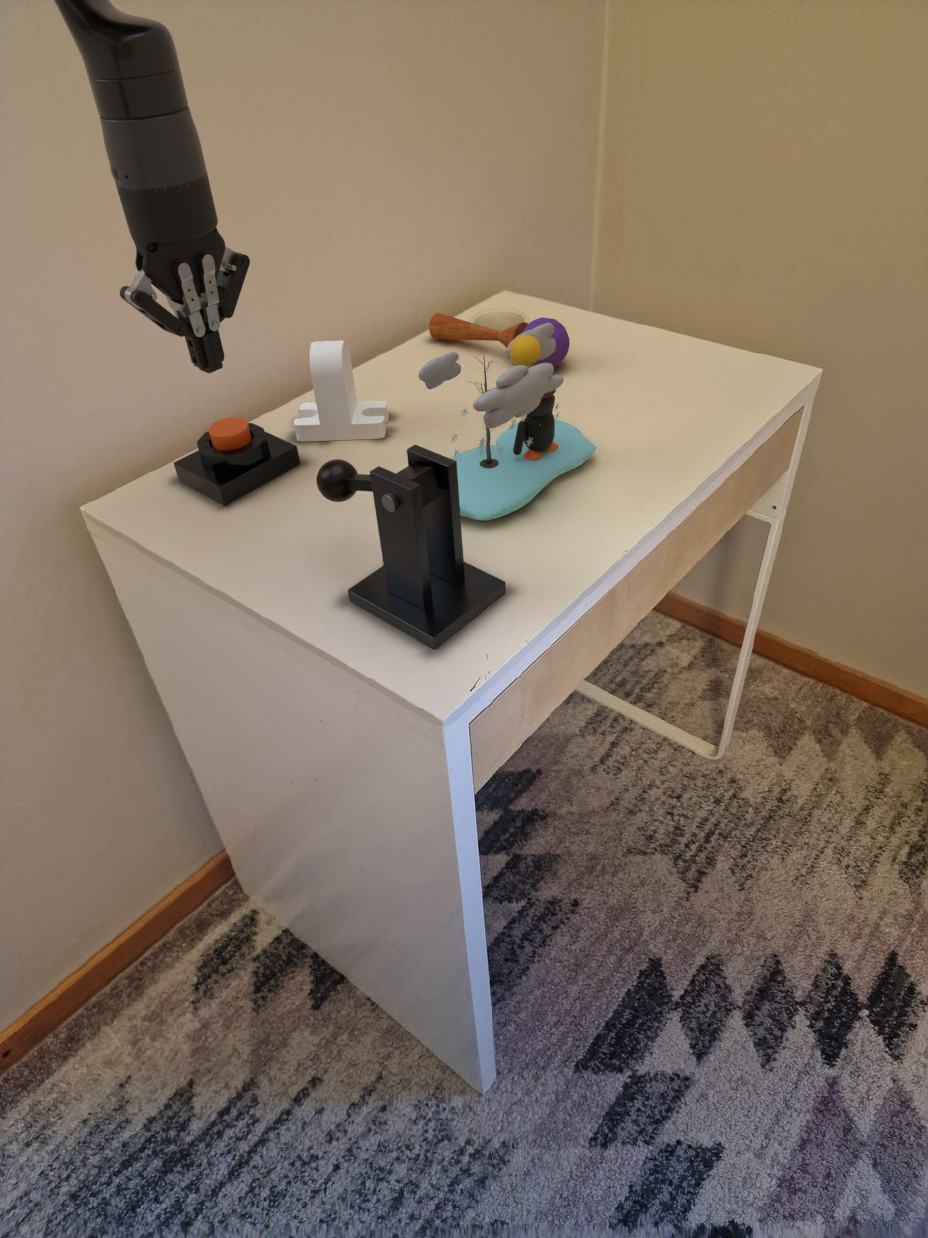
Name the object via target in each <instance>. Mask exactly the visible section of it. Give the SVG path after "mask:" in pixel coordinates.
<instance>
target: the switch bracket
mask: <svg viewBox="0 0 928 1238" xmlns="http://www.w3.org/2000/svg"><path fill="white" fill-rule="evenodd" d="M406 455H407V456H406V457H407V466H424V467H433V470H434V473H435V476H436V479H437V482H438V485H439V488H440V491H441V496H440V497H438V498H437V499H435V500H434V501H432V502H431V503H429V504H428V505H426V506H425V507H423V505H422V495H421V486H420V484H419V483H416V482H414V481H412V480H409V479H407V478H405V477H403V476H400V475H398V474H396V473H397V472H396V473H395V472H393V471H391V470H389V469H386V468H384V467H383V466H380V465H378V466H376V467H375V468H373V469H371V470H370V471H369V475H370V477H371V484H372V490H373V492H372V495H373V496H372V497H373V503H374V511H375V518H376V523H377V530H378V536H379V544H380V551H381V558H382V563H383V564H382V566H379V568H377V569H376V570H374V571H373V572H372V573H370V574H369V575H367V576H366V577H364V578H363V579H361V580H359V581H358V582H357V583H355V584H354V585H353V586H351V587H350V588H348V589H347V595H348V600H349V601H350V602H351V603H353V604H355V605H357V606H358V607H360V608H362V609H364V610H365V611H367V612H369V613H370V614H372V615H373V616H376V617H377V618H379V619H381V620H382V621H384V622H386V623H388V624H390V625H391V626H393V627H394V628H397V629H398V630H399V631H402V632H403V633H405V634H407V635H409V636H410V637H412V638H414V639H416V640H417V641H419V642H421V643H423V644H424V645H426V646H428V647H430V648H432V649H433V650H436V649H437V648H438V647H440V646H441V645H442V644H444V643H445V642H446V641H447V640H448V639H449V638H452V636H453V635H454V634H456V633H457V632H459V631H460V630H461V629H462V628H464V627H465V626H466V625H468V624H469V623H470V622H471V621H472V620H473V619H475V618H476V617H477V616H479V615H480V614H481V613H482V612H484V611H485V610H486V609H487V608H488V607H490V606H491V605H493V604H494V603H495V602H496V601H498V600H499V599H500V598H501V597H502V596H503V595H505V594H506V592H507V584H506V583H507V582H506V581H505V580H503V579H501V578H498V577H497V576H495V575H492V574H490V573H488V572H486V571H485V570H482V569H480V568H478V567H476V566H474V565H472V564H470V563H468V562H465V561H464V560H465V559H464V549H463V548H464V547H463V546H464V545H463V531H462V519H461V518H462V516H460V503H459V488H458V474H457V462H456V461H455V460H452V458H449V457H447V456H445V455H443V454H440V453H438V452H435V451H432V450H430V449H428V448H425V447H423V446H420V445H418V444H413V445H412V446H410V447H408V448H407V449H406Z"/></svg>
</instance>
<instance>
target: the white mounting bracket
mask: <svg viewBox="0 0 928 1238" xmlns="http://www.w3.org/2000/svg"><path fill="white" fill-rule="evenodd" d="M350 351H351V350H350V348H349V344H348V341H347V340H346V339H343V340H342V339H341V340H319V341H312V342H311V343H310V347H309V370H310V371H309V372H310V378H311V384H312V389H313V393H314V400H315V402H304V403H301V404H300V405H299V407H298V415H299V417H297V418H294V421H293V428H294V432H295V437H296V440H297V442H327V441H353V440H354V441H357V440H381V439H383V438H385V437H386V434H387V426H386V424H388V423H389V420H390V417H389V408H388V402H387V401H385V400H366V401H363V400H362V401H358V398H357V397H358V396H357V392H356V391H357V390H356V385H355V377H354V372H353V366H352V365H353V364H352V358H351V352H350Z"/></svg>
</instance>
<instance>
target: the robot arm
mask: <svg viewBox="0 0 928 1238" xmlns="http://www.w3.org/2000/svg"><path fill="white" fill-rule="evenodd" d="M53 2H54V3H55V6H56V7H57V10H58V12H59V13H60V15H61V17H62V19H63V21H64V24H65V25H66V27H67V29H68V32H69V33H70V36H71V38H72V39H73V42H74V44H75V46H76V47H77V50H78V51H79V54H80V56H81V60H82V61H83V65H84V69H85V72H86V75H87V79H88V83H89V86H90V90H91V92H92V97H93V100H94V103H95V107H96V110H97V113H98V115H99V121H100V125H101V131H102V138H103V143H104V148H105V152H106V156H107V160H108V163H109V167H110V168H109V169H110V173H111V176H112V178H113V180H114V183H115V187H116V191H117V193H118V198H119V200H120V204H121V207H122V211H123V214H124V218H125V221H126V225H127V228H128V231H129V234H130V236H131V239H132V241H133V243H134V245H135V250H136V251H135V260H134V261H135V268H136V270H137V273H136V275H135V276H134V277H133V278H134V279H133V280H132V282H131V283H130V285H123V286H122V287H121V288H120V290H119V296H120V298H121V299H122V301H123V300H124V301H125V302H126V303H127V304H128V305H130V306H131V307H133V308H134V309H135V310H136V311H138V313H140V314H142V315H143V316H144V317H145V318H147V319H148V320H150V321H151V322H152V323H154V324H155V325H156V326H158V327H159V328H160V329H162V330H163V331H165V332H167V333H170V334H172V335H175V336H178V337H180V338H182V337H184V339H185V342H186V346H187V350H188V354H189V358H190V361H191V363H192V365H193V366H194V367H196V368H198V369H199V370H200V371H202V372H203V373H207V374H212V373H214V372H217V371H219V370H222V369H223V367H224V365H223V362H224V361H225V351H224V348H223V344H222V339H221V336H220V335H221V334H220V331H219V329H220V328H221V323H222V322H223V321H224V320H225V319H231V318H233V316H234V314H235V311H236V307H237V304H238V301H239V299H240V295H241V292H242V289H243V285H244V284H245V283H244V282H245V280H246V276H247V274H248V270H249V267H250V264H251V260H250V256H248V255H247V254H244V253H242V252H239V251H235V250H232V249H231V248H229V247H227V246H226V241H225V239H224V238H223V236H222V235H221V233H220V232H219V230H218V228H217V226H218V224H219V219H218V214H217V209H216V205H215V201H214V197H213V192H212V188H211V184H210V179H209V174H208V171H207V170H208V169H207V165H206V161H205V157H204V153H203V148H202V143H201V140H200V136H199V133H198V130H197V127H196V123H195V122H194V118H193V116H192V112H191V108H190V106H189V102H188V101H189V100H188V97H187V92H186V88H185V84H184V79H183V74H182V71H181V67H180V66H181V64H180V61H179V56H178V52H177V48H176V44H175V41H174V38H173V35H172V33H171V32H170V30H169V28H168V27H167V26H166V25H165V24H163V23H162V22H160V21H158V20H155V19H152V18H147V17H142V16H137V15H133V14H128V13H126V12H123V11H121V10H119V9H118V8H116V6H114V4H112V3H111V1H110V0H53ZM152 286H153V287H154V288H156V289H157V290H158V291H160V293H161V294H163V295H164V296H165V297H166V301H167V304H168V305H169V308H171V309H172V312H173V313H174V314H173V313H172V312H170V311H169V310H168V309H167V308H165V307H164V306H162V305H161V304H160V303H158V301H156V300H157V299H158V295H157V293H156V291H155V290H154V288H153V287H152Z"/></svg>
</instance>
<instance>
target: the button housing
mask: <svg viewBox="0 0 928 1238" xmlns="http://www.w3.org/2000/svg"><path fill="white" fill-rule="evenodd" d="M248 425H249V429H250V433H251V438H252V439H251V442H250V443H249V444H247V445H245V446H243V447H241V448H237V449H232V450H216V449H215V448H214V447H213V445H212V442H211V438H210V435H209V431H205V432H204V433H203V434H202V435H201V436H200V437H199V438H198V440H197V441H196V446H197V450H195V451H194V452H192V453H190V454H188V455H186V456H184V457H182V458H180V459H178V460H176V461H174V462H172V464H173V466H174V469H175V473H176V475H177V476H176V477H177V479H178V481H179V482H180V483H182V484H184V485H186V486H188V487H190V489H191V488H192V489H193V490H195V491H197V492H199V493H201V494H202V495H204V496H206V497H207V498H210V499H212V500H213V501H215V502H217V503H218V504H220V505H222V506H224V507H225V506H227V505H229V504H230V503H233V502H234V501H236V500H238V499H240V498H241V497H243V496H245V495H247V494H249V493H251V492H252V491H254V490H256V489H258V488H259V487H262V486H264V485H265V484H267V483H269V482H270V481H273V480H274V479H276V478H278V477H279V476H281V475H283V474H285V473H287V472H288V471H290V470H293V469H294V468H295V467H298V466H299V465H301V460H300V454H299V450H298V446H297V445H296V444H294V443H291V442H290V441H287V440H285V439H283V438H281V437H278V436H277V435H274V434H271V433H269V432H267V431H266V430H265V429H264V427H262V426H260V425H258V424H256V423H254V422H248Z"/></svg>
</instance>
